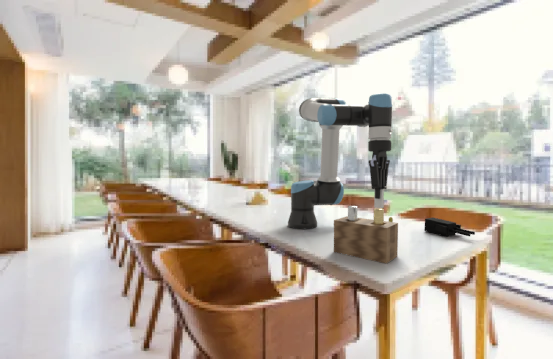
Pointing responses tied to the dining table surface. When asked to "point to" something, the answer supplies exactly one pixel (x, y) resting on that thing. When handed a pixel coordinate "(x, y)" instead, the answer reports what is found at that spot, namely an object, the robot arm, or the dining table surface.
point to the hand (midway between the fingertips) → (378, 207)
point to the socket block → (366, 239)
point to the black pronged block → (445, 227)
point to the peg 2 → (379, 216)
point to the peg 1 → (352, 213)
